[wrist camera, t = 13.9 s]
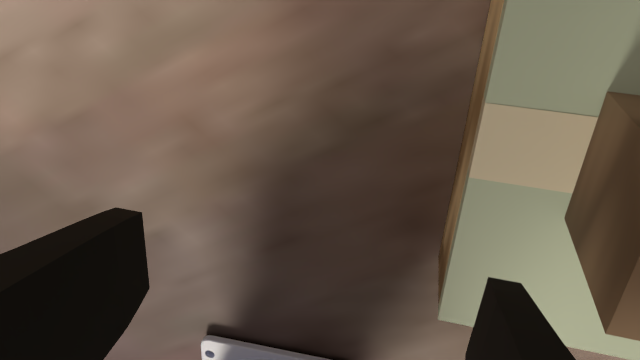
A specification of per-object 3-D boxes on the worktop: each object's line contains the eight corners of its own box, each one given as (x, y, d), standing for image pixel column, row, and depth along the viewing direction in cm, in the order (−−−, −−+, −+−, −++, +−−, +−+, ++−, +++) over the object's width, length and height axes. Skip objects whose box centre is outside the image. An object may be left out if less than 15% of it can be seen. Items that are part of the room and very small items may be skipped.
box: (693, 299, 20) (731, 356, 17) (438, 257, 22) (438, 303, 19) (903, -105, 14) (1013, -110, 11) (515, -124, 15) (532, -133, 13)
